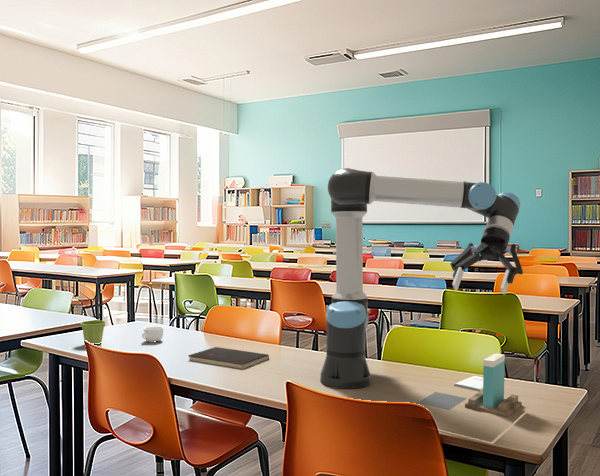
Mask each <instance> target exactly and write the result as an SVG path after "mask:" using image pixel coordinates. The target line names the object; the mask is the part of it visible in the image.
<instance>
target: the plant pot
mask: <svg viewBox="0 0 600 476" xmlns="http://www.w3.org/2000/svg"><path fill="white" fill-rule="evenodd" d="M106 323H107V321H105V320H99V319H96V320H85V321H81V322H80V326H81V328H82V333H83V340H87V341H88V342H90V343H94V344H95V343H100V342H102V341H103V335H104V328H105V325H106Z"/></svg>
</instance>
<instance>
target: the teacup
mask: <svg viewBox="0 0 600 476" xmlns="http://www.w3.org/2000/svg"><path fill="white" fill-rule="evenodd" d="M141 337H142V339H143V340H145V341H146V342H148V341H149V342H148V343H155V342H154V341H159V342H160V341H161V340H162V339H163V337H164V326H161V325H160V326H158V325H155V326H154V325H151V326H145V327H143V333H142V336H141Z"/></svg>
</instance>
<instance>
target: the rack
mask: <svg viewBox="0 0 600 476" xmlns="http://www.w3.org/2000/svg"><path fill="white" fill-rule="evenodd" d="M467 400H468V401H467V402H466V403H464V408H466V409H470V410H471V409H472V410H475V411H480V412H485V413H490V414H495V415H497V416H498V415H500V416H503V417H504V416H505V417H510V416H511V415H512V414H513V413H514V412H516V411H517V410H518V409H519V408H520V407H521V406H522V403H523V402H522V401H519V395H516V394H511V395H510V396H508V397H507V398H504V400H503V401H502V402H501V403H499V404H498V405H497V406H495V407H494V408H493V409H492V408H487V407H483V390H481V391H477V393H475V394H474V395H472V396H471V397H469V398H468V399H467Z"/></svg>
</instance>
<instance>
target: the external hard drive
mask: <svg viewBox="0 0 600 476" xmlns="http://www.w3.org/2000/svg"><path fill="white" fill-rule="evenodd" d="M453 387H458V388H459V387H460V388H464V389H467V390H472V391H476V392H480V391H481V390H483V376H479V375H472V376H471V377H468V378H466V379H463V380H460V381H458V382H455V383H453Z"/></svg>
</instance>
